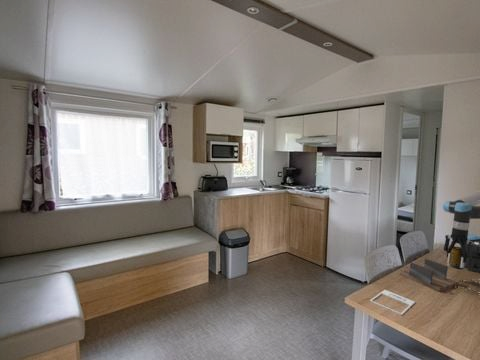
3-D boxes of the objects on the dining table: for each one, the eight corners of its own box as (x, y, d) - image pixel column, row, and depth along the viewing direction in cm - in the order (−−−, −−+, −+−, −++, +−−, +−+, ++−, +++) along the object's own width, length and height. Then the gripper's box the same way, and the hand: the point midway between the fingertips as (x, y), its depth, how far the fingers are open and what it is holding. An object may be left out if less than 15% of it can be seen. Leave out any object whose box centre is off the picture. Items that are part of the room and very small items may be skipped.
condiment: (454, 264, 167) (457, 245, 166) (468, 269, 159) (471, 250, 158) (445, 264, 166) (447, 246, 164) (459, 270, 157) (461, 251, 156)
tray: (416, 270, 175) (418, 255, 174) (455, 285, 156) (458, 269, 155) (399, 274, 167) (401, 259, 166) (439, 292, 148) (441, 274, 147)
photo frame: (415, 301, 135) (401, 314, 124) (414, 303, 135) (401, 316, 124) (384, 289, 146) (369, 299, 135) (384, 291, 147) (369, 302, 135)
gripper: (439, 224, 167) (434, 260, 170) (476, 233, 150) (471, 272, 153) (445, 223, 171) (441, 258, 173) (483, 232, 154) (477, 270, 156)
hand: (455, 265), depth 163 cm, fingers closed on condiment, 6 cm apart
